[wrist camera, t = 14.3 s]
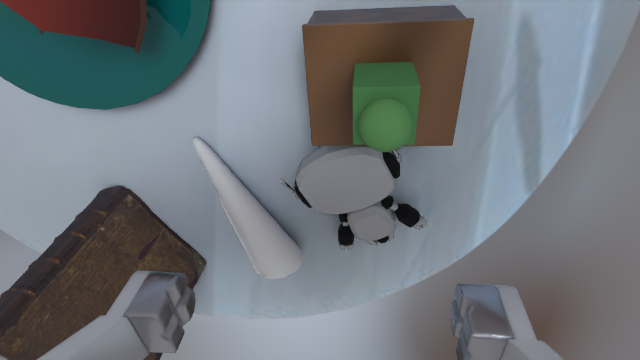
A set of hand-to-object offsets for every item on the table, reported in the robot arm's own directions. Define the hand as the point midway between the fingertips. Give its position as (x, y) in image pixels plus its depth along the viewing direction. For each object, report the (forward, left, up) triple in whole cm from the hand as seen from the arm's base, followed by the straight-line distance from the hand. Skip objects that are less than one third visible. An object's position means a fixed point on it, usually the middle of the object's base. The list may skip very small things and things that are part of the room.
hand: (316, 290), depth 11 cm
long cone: (+12, +19, -28) cm, 36 cm away
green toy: (-3, +3, -22) cm, 22 cm away
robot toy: (-1, +17, -28) cm, 33 cm away
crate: (-3, +3, -28) cm, 28 cm away
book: (+27, +25, -28) cm, 46 cm away
